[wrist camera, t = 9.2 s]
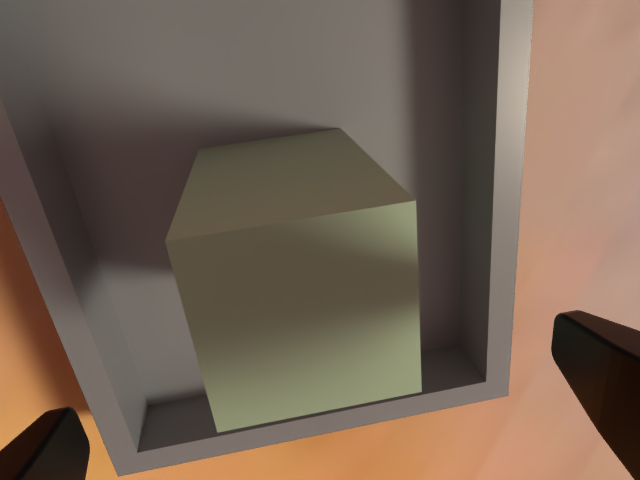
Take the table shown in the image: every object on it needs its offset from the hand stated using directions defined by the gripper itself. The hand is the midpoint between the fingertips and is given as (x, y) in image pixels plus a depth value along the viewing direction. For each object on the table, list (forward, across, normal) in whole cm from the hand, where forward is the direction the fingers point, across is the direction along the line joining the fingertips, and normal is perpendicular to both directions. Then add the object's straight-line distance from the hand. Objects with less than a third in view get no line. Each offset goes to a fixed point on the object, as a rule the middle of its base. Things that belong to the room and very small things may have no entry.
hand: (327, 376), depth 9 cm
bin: (+11, 0, 0) cm, 11 cm away
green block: (+10, 0, 0) cm, 10 cm away
